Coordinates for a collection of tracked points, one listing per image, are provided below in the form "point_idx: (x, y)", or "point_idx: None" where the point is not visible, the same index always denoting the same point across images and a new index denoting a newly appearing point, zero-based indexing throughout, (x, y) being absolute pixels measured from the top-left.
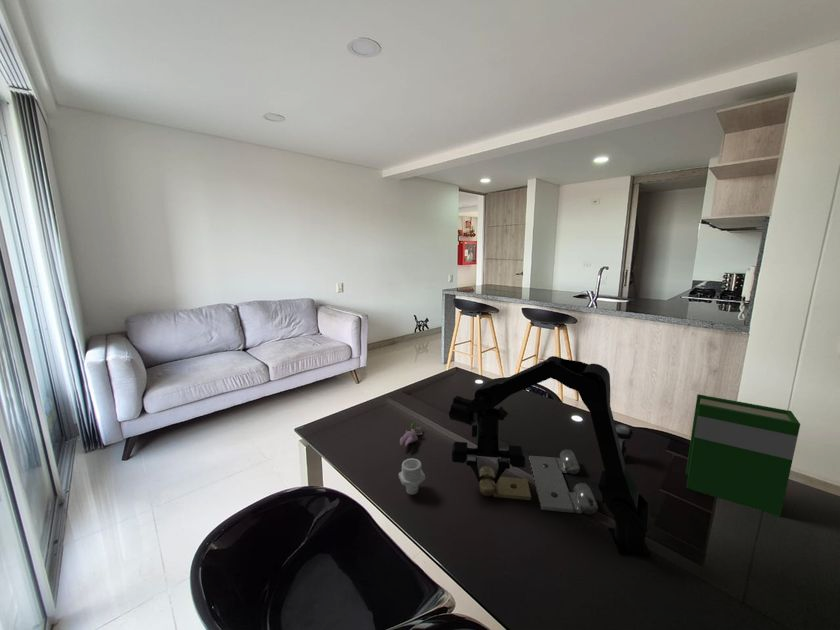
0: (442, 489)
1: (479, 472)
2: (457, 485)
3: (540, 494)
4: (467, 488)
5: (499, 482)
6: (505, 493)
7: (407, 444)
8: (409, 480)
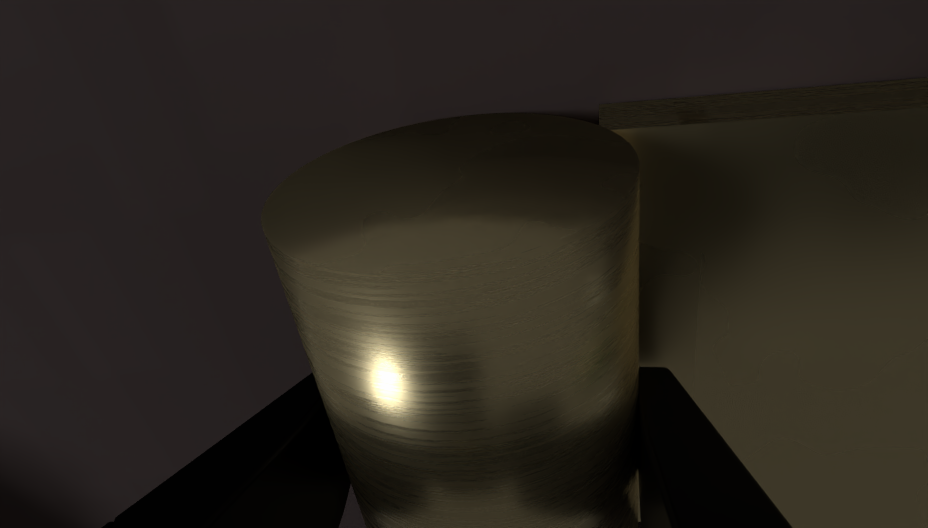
0: (6, 411)
1: (279, 464)
2: (109, 339)
3: None
4: (246, 373)
5: (742, 306)
6: (806, 519)
7: None
8: None
